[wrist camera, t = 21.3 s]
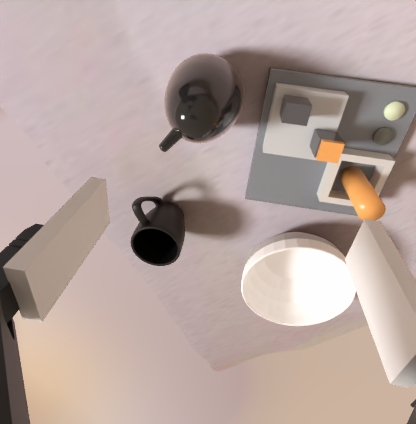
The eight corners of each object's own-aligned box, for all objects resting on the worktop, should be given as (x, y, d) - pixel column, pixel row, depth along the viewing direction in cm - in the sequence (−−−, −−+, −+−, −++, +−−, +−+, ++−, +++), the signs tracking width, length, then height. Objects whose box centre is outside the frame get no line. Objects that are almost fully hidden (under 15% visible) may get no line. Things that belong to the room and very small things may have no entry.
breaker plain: (283, 94, 39) (286, 102, 35) (307, 97, 38) (312, 105, 35) (279, 113, 40) (281, 122, 37) (302, 116, 40) (306, 126, 36)
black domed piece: (159, 88, 44) (122, 119, 32) (211, 32, 40) (191, 41, 27) (207, 139, 48) (190, 185, 35) (260, 93, 43) (262, 126, 30)
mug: (173, 172, 52) (159, 201, 44) (196, 228, 58) (187, 262, 50) (131, 182, 54) (110, 212, 46) (157, 235, 60) (143, 269, 52)
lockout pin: (343, 164, 46) (362, 198, 37) (365, 166, 45) (389, 201, 37) (337, 183, 47) (354, 219, 39) (358, 185, 47) (379, 222, 39)
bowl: (237, 283, 64) (235, 318, 57) (248, 209, 54) (248, 240, 47) (328, 295, 63) (338, 332, 56) (358, 222, 52) (374, 255, 45)
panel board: (270, 67, 41) (271, 72, 38) (421, 87, 40) (437, 94, 37) (245, 194, 52) (245, 206, 49) (363, 212, 51) (371, 226, 48)
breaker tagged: (314, 128, 40) (321, 141, 36) (337, 131, 40) (346, 144, 36) (309, 146, 42) (315, 160, 38) (331, 149, 42) (339, 163, 38)
